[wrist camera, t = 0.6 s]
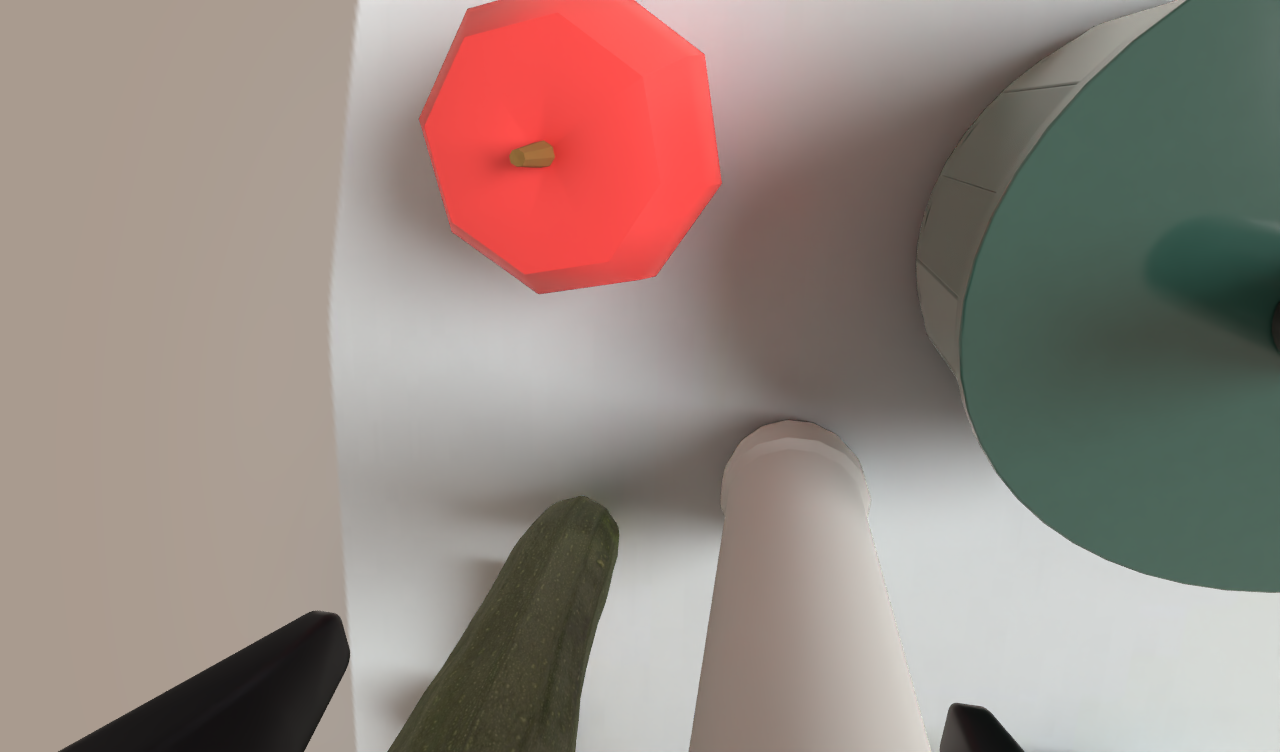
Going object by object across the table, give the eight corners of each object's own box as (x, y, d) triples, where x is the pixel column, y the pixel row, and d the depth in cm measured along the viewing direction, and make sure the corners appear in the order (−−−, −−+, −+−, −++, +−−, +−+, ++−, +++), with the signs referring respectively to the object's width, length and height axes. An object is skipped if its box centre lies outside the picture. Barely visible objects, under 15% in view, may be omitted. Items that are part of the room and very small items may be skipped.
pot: (1391, 395, 18) (1691, 528, 12) (940, 458, 22) (1002, 584, 16) (1454, -85, 14) (1944, -233, 8) (888, 88, 18) (946, 71, 12)
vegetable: (550, 446, 25) (-61, 1344, 7) (655, 456, 24) (291, 1509, 6) (557, 536, 26) (88, 1446, 8) (655, 548, 26) (375, 1584, 7)
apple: (484, 235, 22) (340, 293, 15) (508, -23, 18) (338, -115, 11) (700, 291, 21) (662, 380, 14) (766, 31, 18) (762, -31, 10)
